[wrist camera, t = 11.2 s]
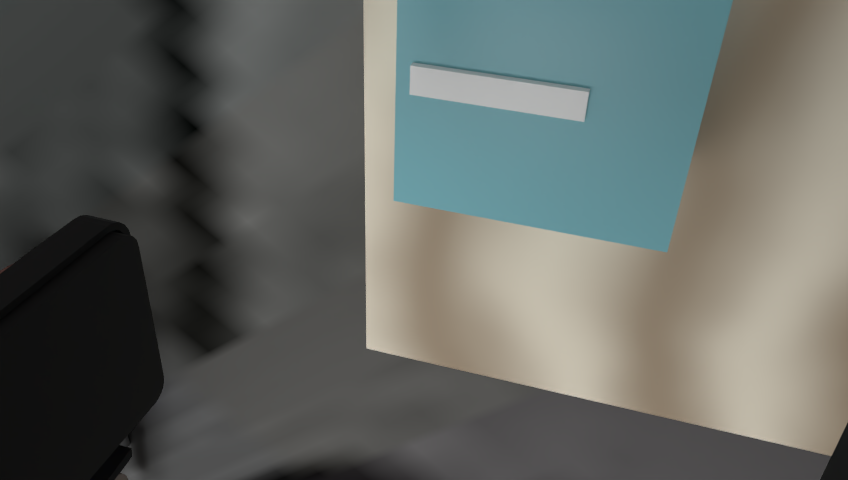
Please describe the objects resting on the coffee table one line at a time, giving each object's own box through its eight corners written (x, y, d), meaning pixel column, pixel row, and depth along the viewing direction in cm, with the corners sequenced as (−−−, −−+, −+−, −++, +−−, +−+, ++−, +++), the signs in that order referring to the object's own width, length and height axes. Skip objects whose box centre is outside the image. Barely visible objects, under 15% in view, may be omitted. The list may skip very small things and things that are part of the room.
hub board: (1324, -66, 17) (1536, 4, 13) (986, 450, 27) (1042, 592, 22) (387, -145, 22) (308, -114, 18) (383, 316, 32) (332, 412, 27)
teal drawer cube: (735, -95, 19) (745, -43, 14) (673, 158, 22) (666, 257, 18) (459, -121, 20) (395, -80, 16) (445, 120, 24) (391, 204, 20)
